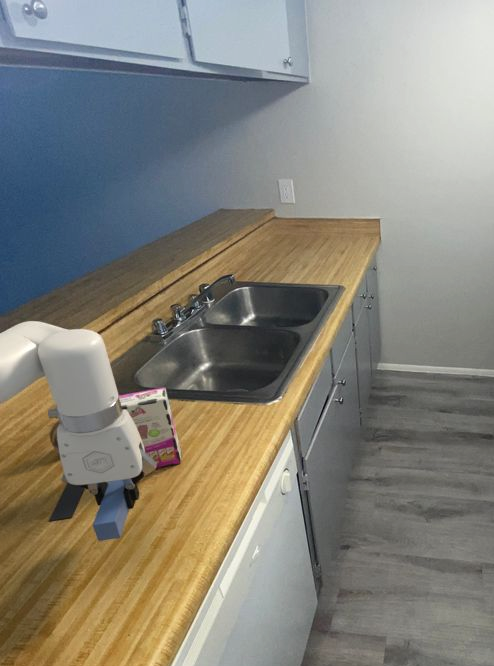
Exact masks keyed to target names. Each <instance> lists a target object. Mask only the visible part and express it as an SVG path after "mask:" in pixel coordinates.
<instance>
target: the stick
mask: <svg viewBox="0 0 494 666" xmlns="http://www.w3.org/2000/svg"><path fill="white" fill-rule="evenodd" d="M124 487H125V486H124V483H123V480H115V481H108V487H107V489H106V492H105V495H104V497H103V499H102V502H101V504H100V505H99V508H98V510H97V513H96V514H95V517H94V520H93V523H92V528H93V530H94V533H95V536H96V539H97V541H98V542H104V541H109V540H117V539H121V536H122V534H123V531H124V528H125V525H126V521H127V518H128V515H129V512H130V509H129V508H128V506H127V502H126V499H125V496H124V494H123V490H124Z"/></svg>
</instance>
